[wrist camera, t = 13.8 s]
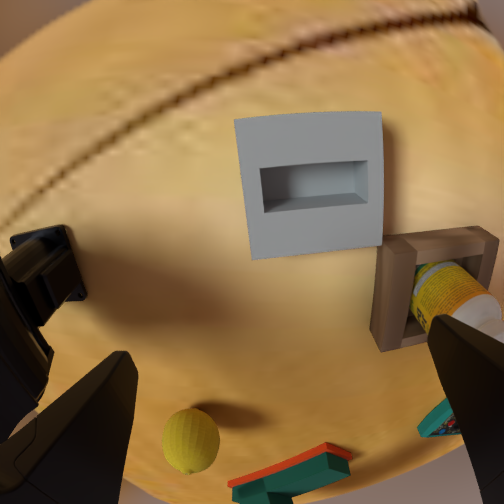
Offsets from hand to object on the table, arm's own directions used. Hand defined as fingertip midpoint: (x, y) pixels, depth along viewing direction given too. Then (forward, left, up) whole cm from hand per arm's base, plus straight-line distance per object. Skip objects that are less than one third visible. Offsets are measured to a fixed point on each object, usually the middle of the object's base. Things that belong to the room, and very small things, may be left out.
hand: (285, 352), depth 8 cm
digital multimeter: (+26, -33, -14) cm, 44 cm away
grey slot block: (+3, +2, -13) cm, 13 cm away
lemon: (-9, -20, -13) cm, 26 cm away
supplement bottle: (+13, -7, -13) cm, 19 cm away
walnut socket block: (+13, -7, -13) cm, 20 cm away
